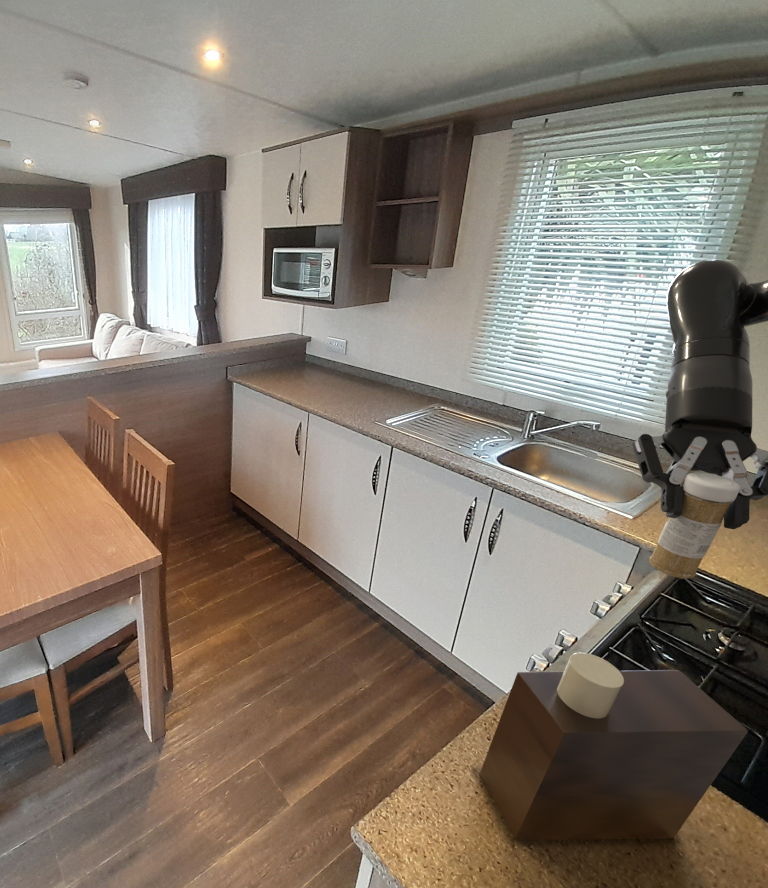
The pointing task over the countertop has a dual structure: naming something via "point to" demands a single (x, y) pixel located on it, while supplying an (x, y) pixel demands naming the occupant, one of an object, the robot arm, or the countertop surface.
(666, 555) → the sprinkles bottle
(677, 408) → the robot arm
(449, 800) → the countertop surface
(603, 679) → the cream squat cylinder
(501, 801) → the block
